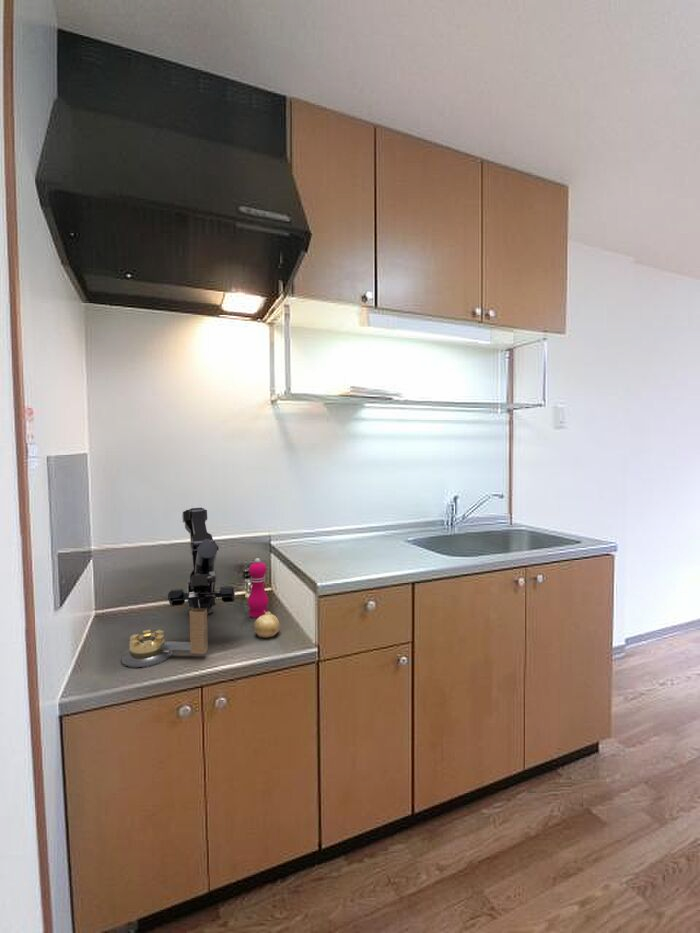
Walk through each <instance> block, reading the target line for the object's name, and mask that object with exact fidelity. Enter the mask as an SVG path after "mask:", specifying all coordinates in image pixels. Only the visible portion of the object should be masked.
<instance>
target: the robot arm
mask: <svg viewBox="0 0 700 933" xmlns="http://www.w3.org/2000/svg"><path fill="white" fill-rule="evenodd" d="M206 521H208V510H207V509H205V508H204V507H192V508H189V509H185V510H184V511H182V523H184V528H185V530H186V531H187V532H188V534H189V538H190V543H189V551H190V552H189V553H190V555H191V560H192V561H191V562H192V571H191V573H190V575H189V578H188V582H187V585H186V593H185V591H184V589H183V588H180V589H179V588H177V589H170V590H169V591H168V592H167V593H168V594H167V600H168V603H169V605H170V606H172V607H175V606H176V607H179V606H183V605H184V604H185V602H186V601H187V603H188V606H189V608H191V610H192V609H193V608H207V616H209V615H212V614H214V611H213V610H211V609H212V608H213V607H214V606H216V605H217V602H216V600H217V599H218V598H221V601H222V602H223V603H234V602H235V601H236V594H235V593H236V592H235V587H234V586H233V585H229V586H220V590H216V589H215V588H216V583H217V571H215V563H216V560H217V554H218V551H220V550H219V548H220V547H219V545H218V544H217V543H216V540H213V535H212V534H211V533H209V532H208V531H207V524H206ZM215 590H216V591H215ZM187 613H188V614H189V611H188V612H187Z"/></svg>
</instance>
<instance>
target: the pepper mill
mask: <svg viewBox="0 0 700 933" xmlns="http://www.w3.org/2000/svg"><path fill="white" fill-rule="evenodd" d="M266 573H267V566H266V564H265V563H263V562H262V561H261V560H260V558H259V557H257V558H255V559H254V562H253V563H252V564H250V566H249V568H248V574H249V575H250V582H251V590H250V594H249V595H248V599H247V606H248V607H249V609H248V615H249V617H251V618H254V619H255V618H256V619H257V618H259V617H260V616H262V615H265V612H268V608H267V607H268V605H269V597H268V594H267V592H266V588H265V583H264V582H265V581H266V576H265V574H266ZM264 611H265V612H264Z"/></svg>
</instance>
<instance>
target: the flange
mask: <svg viewBox="0 0 700 933" xmlns="http://www.w3.org/2000/svg"><path fill="white" fill-rule="evenodd" d="M172 655H173V650H163V651H162V652H160V653H159V654H157V655H154V656H151V657H146V658H135V657H132V656H131V655H130V647H129V648H127V649H125V650H124V651H123V652H122V654H121V663H122V665H123V666H124V667H126V666H128V667H127V668H130V667H132V668H131V669H137V668H136V667H145V668H148V667H147V666H150V667H152V666H151V665H154V666H156V665H155V664H157V665H159V664H161V663H160V662H162V661H164V660H165V661H167V660H168V659H169V658H170V657H172ZM167 658H168V659H167ZM166 659H167V660H166ZM165 661H164V662H165ZM158 663H159V664H158ZM162 663H163V662H162Z"/></svg>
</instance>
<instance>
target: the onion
mask: <svg viewBox="0 0 700 933" xmlns="http://www.w3.org/2000/svg"><path fill="white" fill-rule="evenodd" d="M264 612H265V611H264ZM253 628H254V632H255V633H256V635H257V636H258V637H259V638H263V639H268V638H272V637H274V636H276V634H278V632H279V630H280V621H279V619H278V618H277V616H276V615H274V614H272V612H271V611H267V612H265V615H262V616H260V617H259V618H256V620H255V621H254V624H253Z"/></svg>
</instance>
